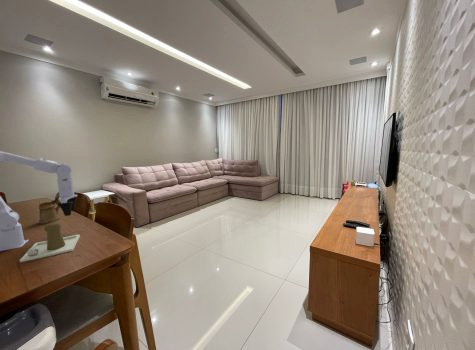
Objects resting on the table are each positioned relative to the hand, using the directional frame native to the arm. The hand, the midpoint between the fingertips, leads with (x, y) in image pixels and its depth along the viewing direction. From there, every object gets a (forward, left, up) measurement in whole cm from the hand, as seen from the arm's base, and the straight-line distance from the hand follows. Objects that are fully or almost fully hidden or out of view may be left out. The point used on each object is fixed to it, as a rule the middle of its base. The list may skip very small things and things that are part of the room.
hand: (69, 213), depth 103 cm
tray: (-3, -18, -10) cm, 21 cm away
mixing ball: (-8, -23, -10) cm, 26 cm away
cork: (-3, -18, -10) cm, 20 cm away
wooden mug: (-14, +30, -11) cm, 35 cm away
